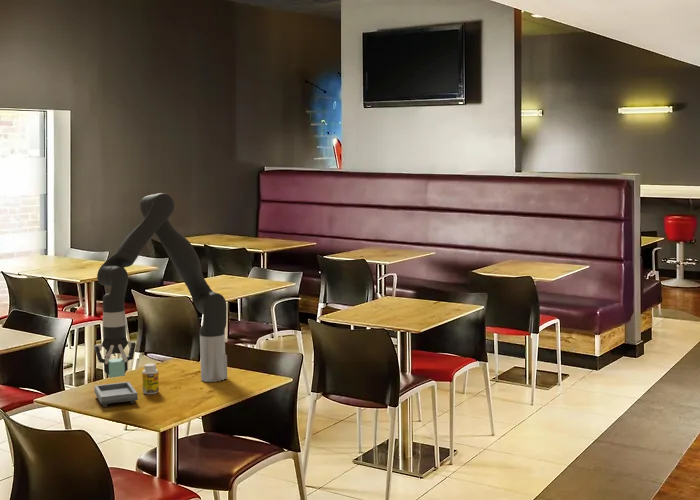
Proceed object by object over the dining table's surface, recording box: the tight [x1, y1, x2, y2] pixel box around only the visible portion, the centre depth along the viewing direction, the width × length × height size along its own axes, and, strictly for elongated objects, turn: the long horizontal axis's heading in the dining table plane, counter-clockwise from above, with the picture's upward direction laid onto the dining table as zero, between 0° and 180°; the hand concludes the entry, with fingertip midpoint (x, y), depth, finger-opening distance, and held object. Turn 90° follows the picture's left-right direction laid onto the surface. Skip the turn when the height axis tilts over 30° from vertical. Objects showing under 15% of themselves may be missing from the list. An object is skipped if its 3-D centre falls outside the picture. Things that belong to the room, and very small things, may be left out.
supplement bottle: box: [142, 363, 160, 395], centre depth 314 cm, size 6×6×10 cm
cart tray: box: [93, 381, 139, 408], centre depth 305 cm, size 12×16×4 cm
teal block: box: [107, 357, 126, 378], centre depth 301 cm, size 5×5×5 cm
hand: (116, 372), depth 301 cm, fingers closed on teal block, 5 cm apart
